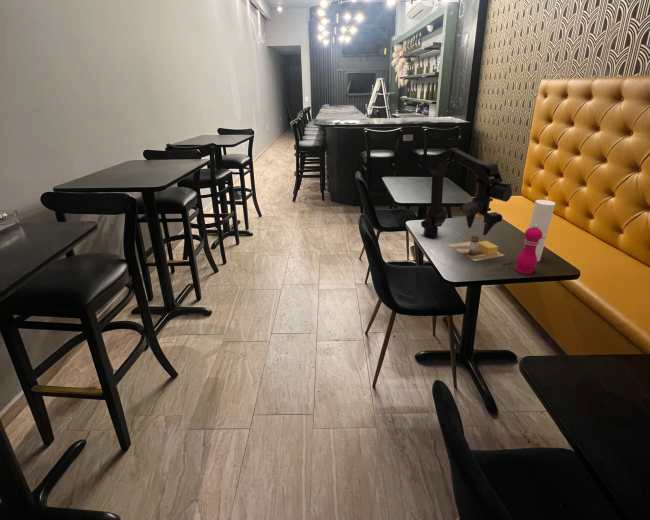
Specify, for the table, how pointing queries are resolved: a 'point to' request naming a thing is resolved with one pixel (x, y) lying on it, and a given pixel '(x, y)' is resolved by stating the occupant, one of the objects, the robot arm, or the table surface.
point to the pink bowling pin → (529, 251)
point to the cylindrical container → (542, 221)
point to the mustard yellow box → (487, 248)
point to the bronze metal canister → (473, 245)
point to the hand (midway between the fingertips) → (476, 231)
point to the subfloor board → (464, 249)
